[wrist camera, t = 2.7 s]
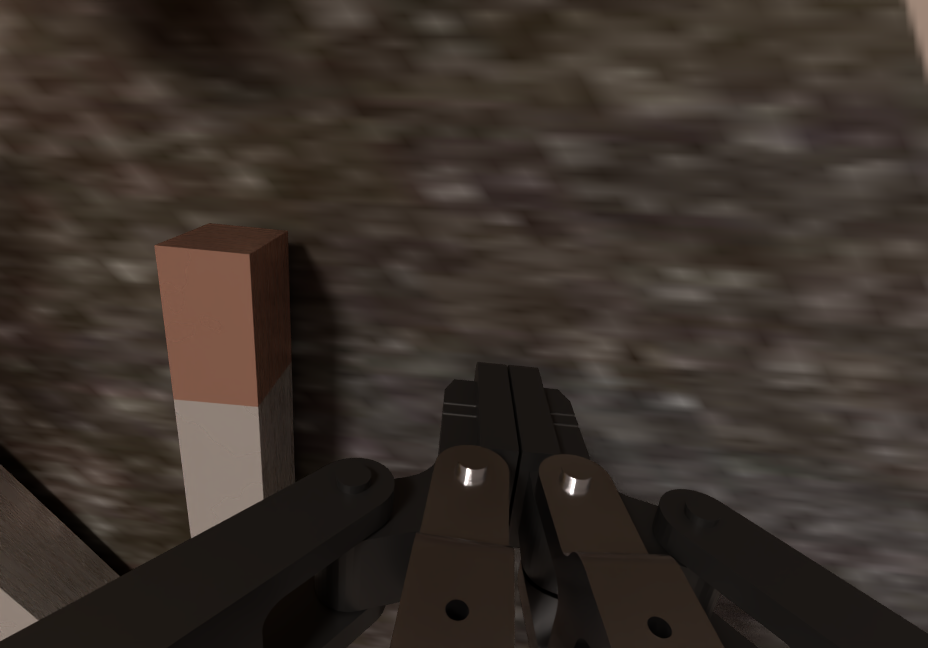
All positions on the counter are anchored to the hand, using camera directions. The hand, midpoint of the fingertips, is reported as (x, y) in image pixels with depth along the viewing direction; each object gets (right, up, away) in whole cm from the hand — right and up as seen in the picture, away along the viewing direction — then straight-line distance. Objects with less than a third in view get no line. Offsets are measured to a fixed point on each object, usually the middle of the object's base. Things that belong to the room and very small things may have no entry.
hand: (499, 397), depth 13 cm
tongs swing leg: (-9, -5, +7) cm, 12 cm away
